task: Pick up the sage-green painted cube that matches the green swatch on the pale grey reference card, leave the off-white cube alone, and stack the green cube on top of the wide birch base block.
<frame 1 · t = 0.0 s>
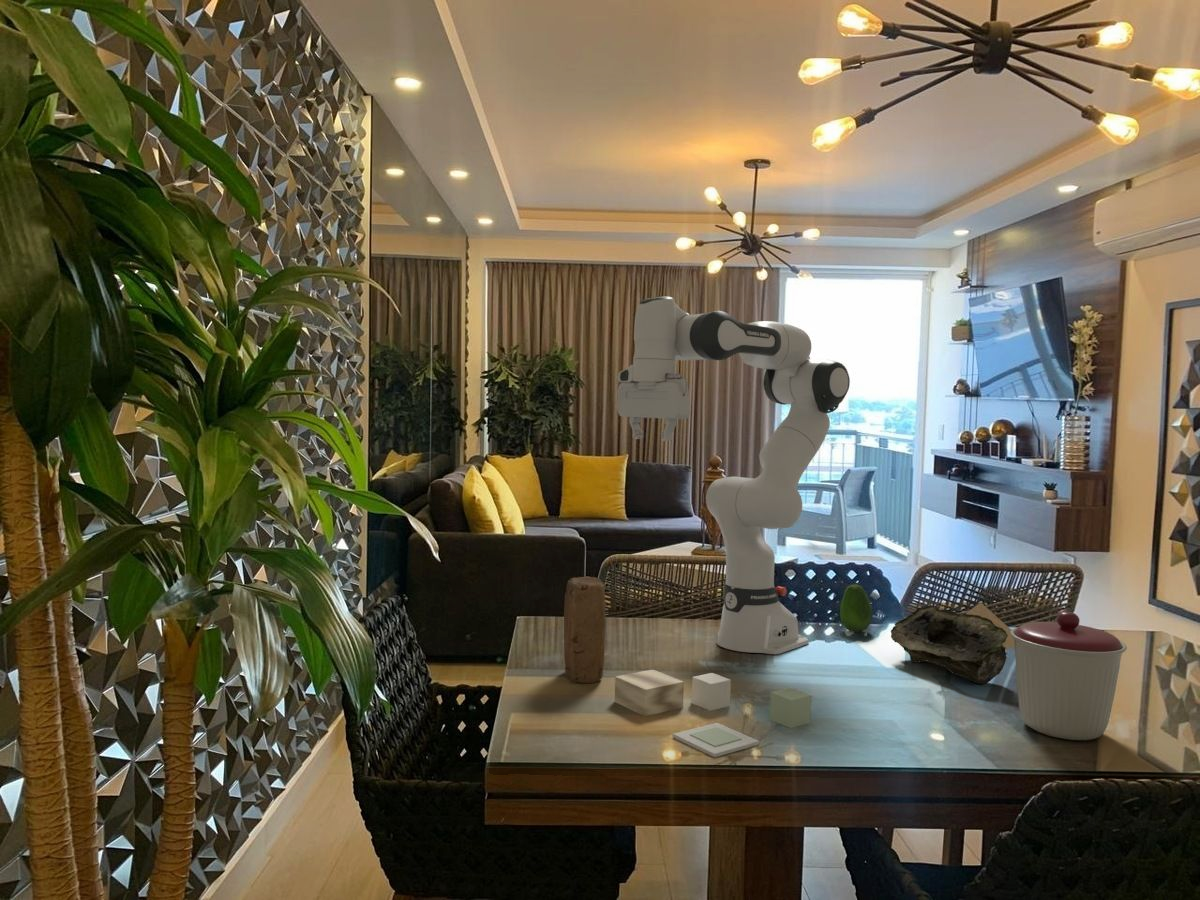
hand: (651, 439, 188), 48 cm above the table, tool pointing down, fingers open, 8 cm apart
reference card: (715, 741, 148), on the table
base block: (648, 705, 165), on the table
block: (582, 677, 180), on the table
model pyramid: (977, 643, 218), on the table
offwhite cube: (710, 704, 166), on the table
avocado: (855, 632, 224), on the table
canister: (1062, 731, 157), on the table
hollow geode rock: (948, 674, 190), on the table
sage cube: (789, 721, 158), on the table
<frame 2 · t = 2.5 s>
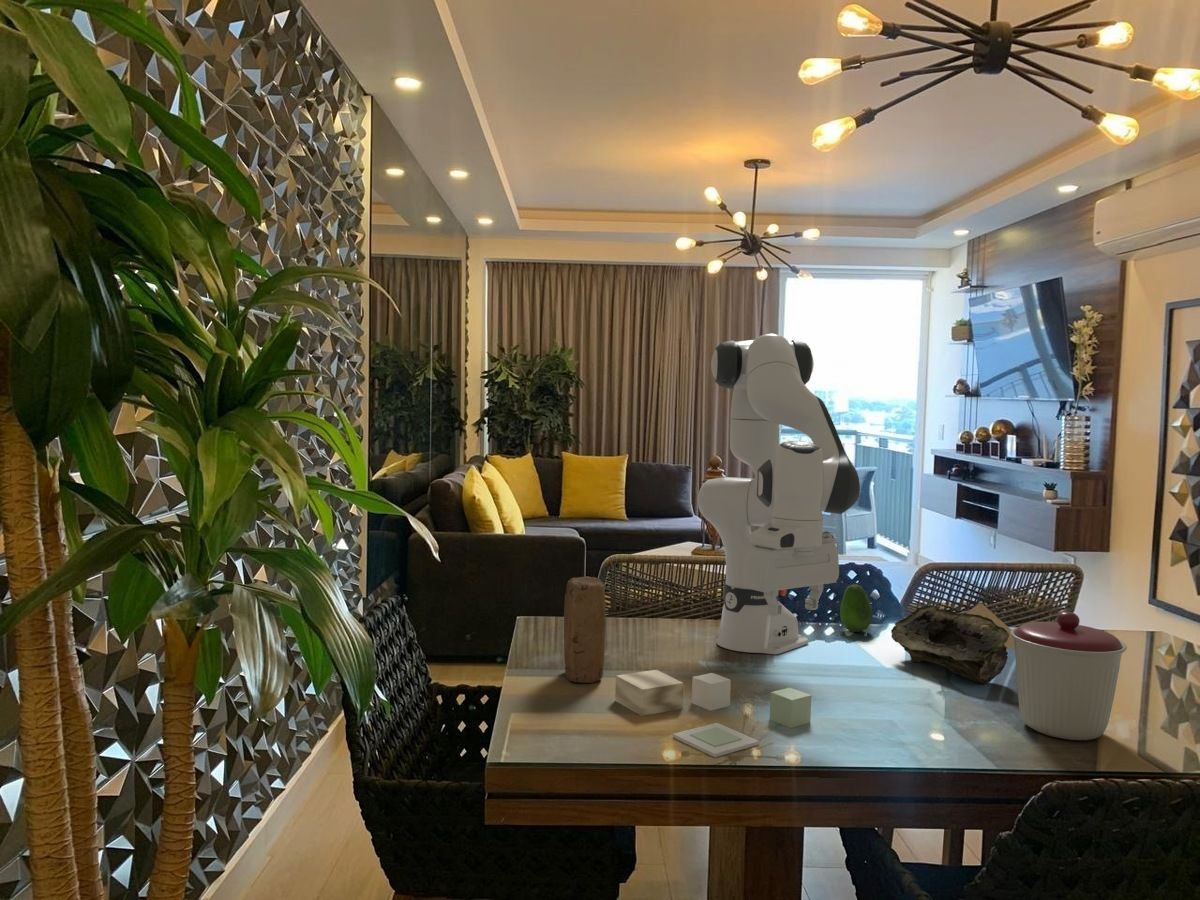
hand: (793, 612, 157), 19 cm above the table, tool pointing down, fingers open, 8 cm apart
nothing on the table moved.
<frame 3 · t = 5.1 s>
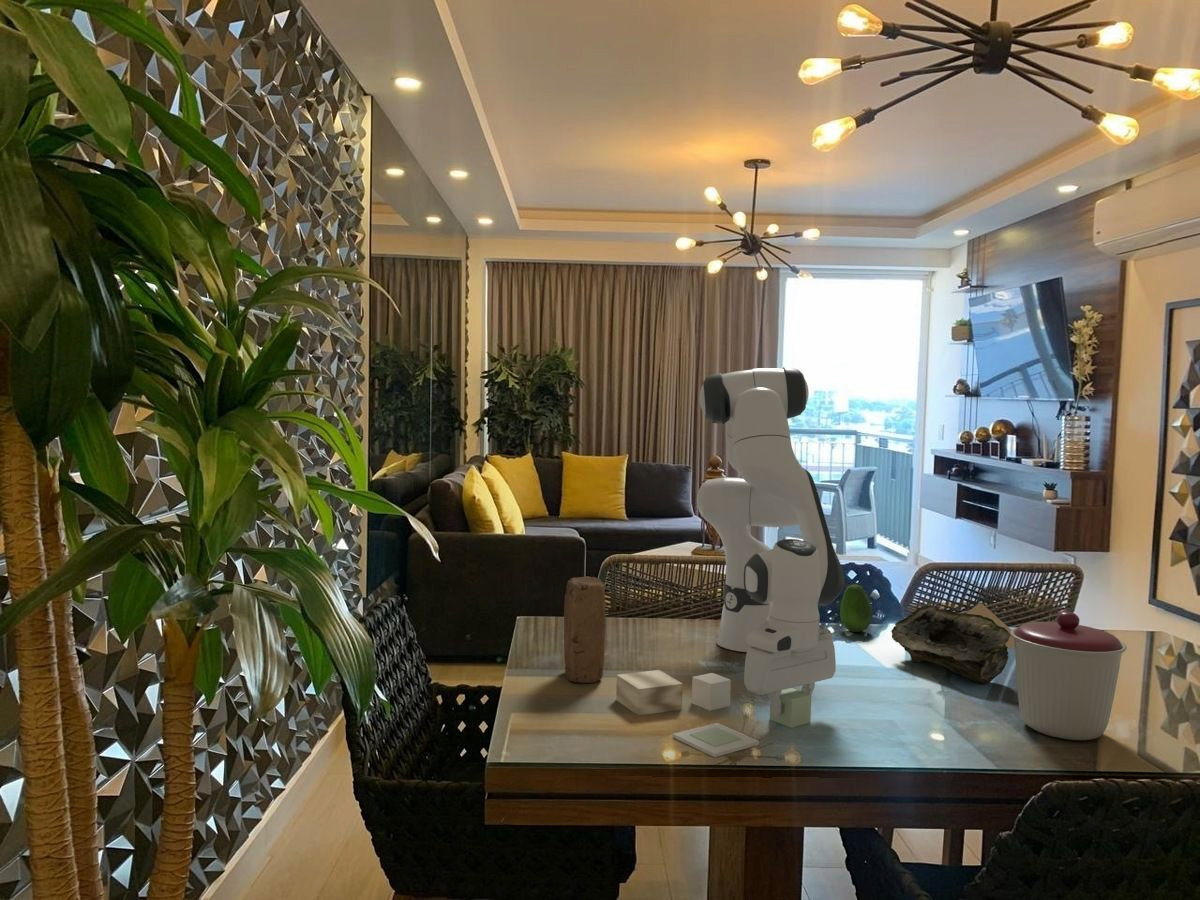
hand: (790, 710, 158), 2 cm above the table, tool pointing down, fingers closed on sage cube, 5 cm apart
sage cube: (789, 720, 158), on the table, touching gripper
everything else where it was.
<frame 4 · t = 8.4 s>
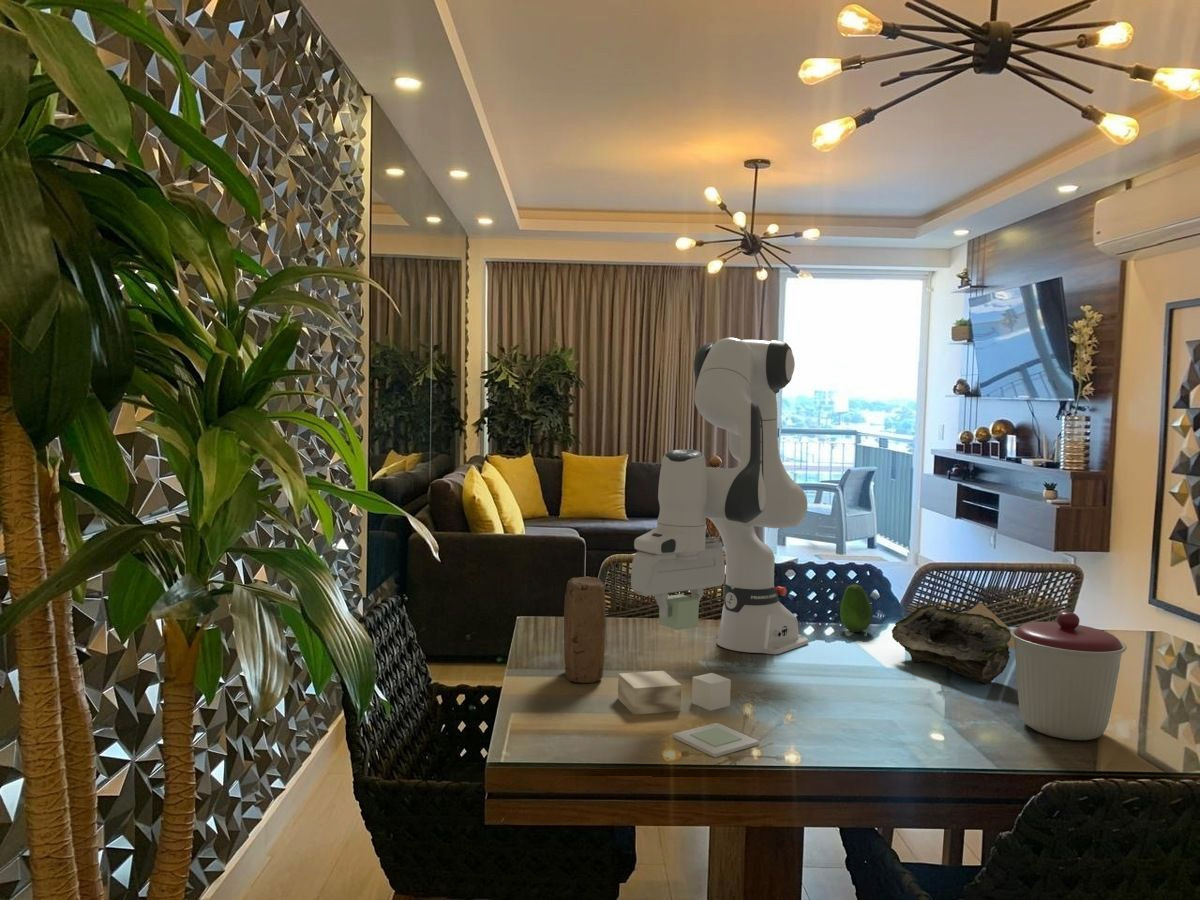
hand: (678, 614, 163), 17 cm above the table, tool pointing down, fingers closed on sage cube, 5 cm apart
sage cube: (678, 625, 163), point 15 cm above the table, touching gripper
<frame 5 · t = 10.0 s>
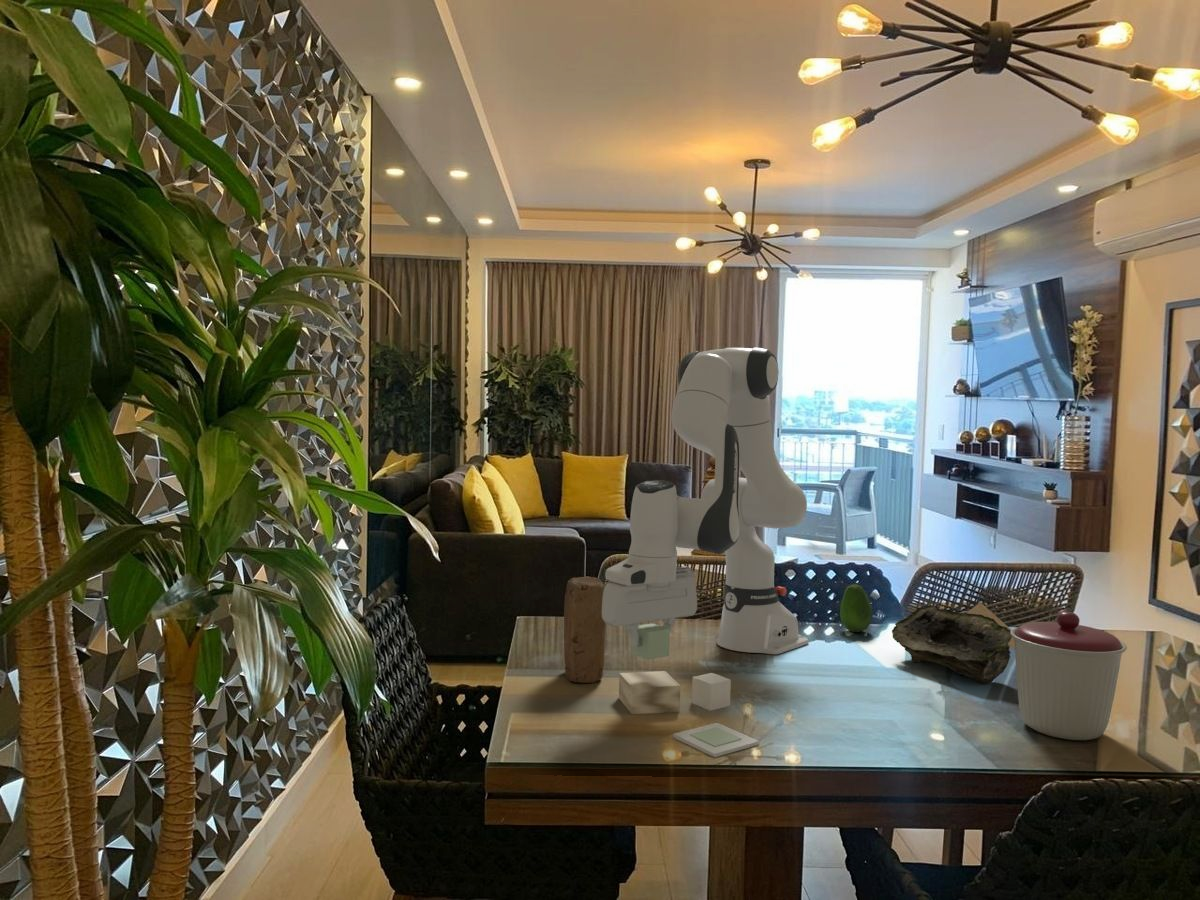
hand: (649, 644, 164), 11 cm above the table, tool pointing down, fingers closed on sage cube, 5 cm apart
sage cube: (649, 654, 164), point 9 cm above the table, touching gripper
when the fingers open (8 cm above the table, at t = 11.5 s): sage cube drops 1 cm, resting on base block.
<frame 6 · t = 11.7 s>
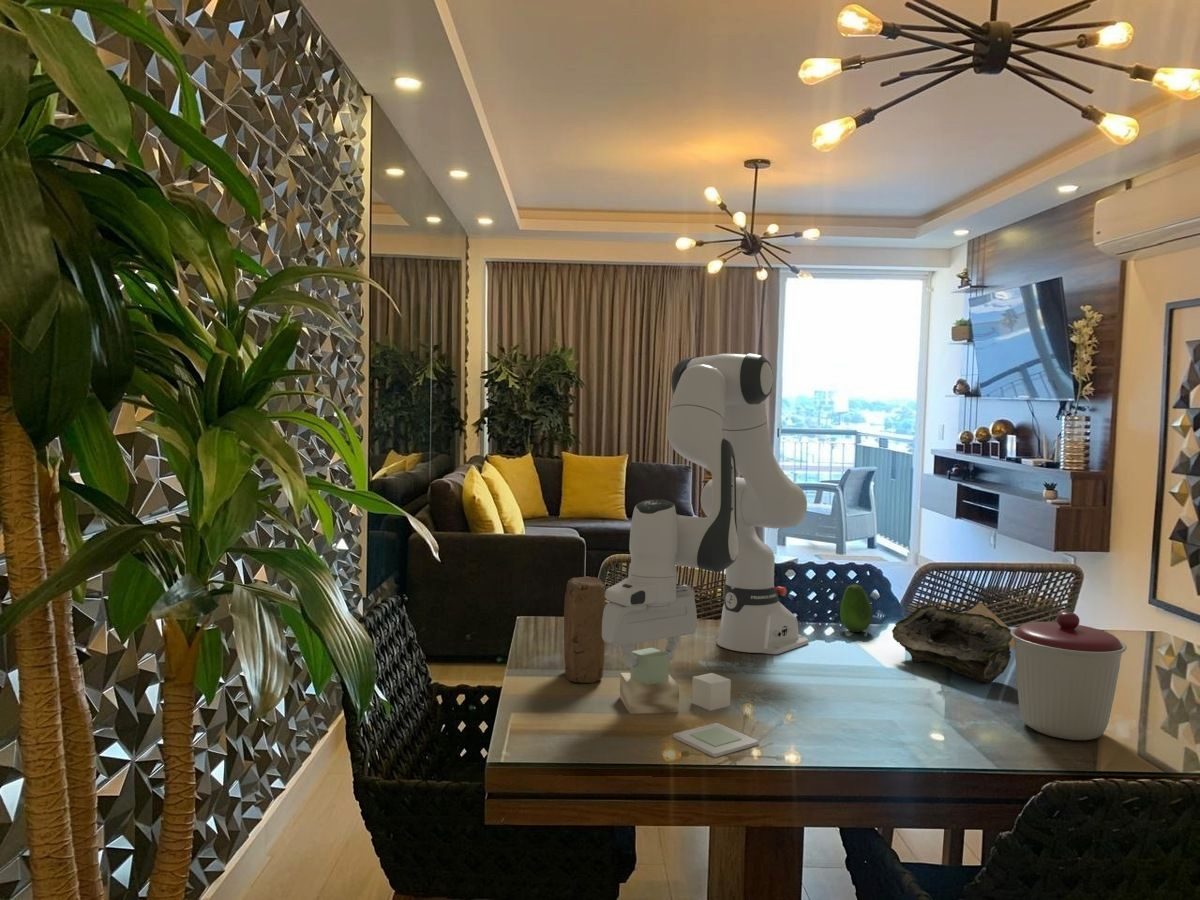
hand: (649, 663, 165), 8 cm above the table, tool pointing down, fingers open, 7 cm apart
base block: (648, 706, 165), on the table, touching sage cube
sage cube: (649, 679, 165), point 5 cm above the table, touching base block
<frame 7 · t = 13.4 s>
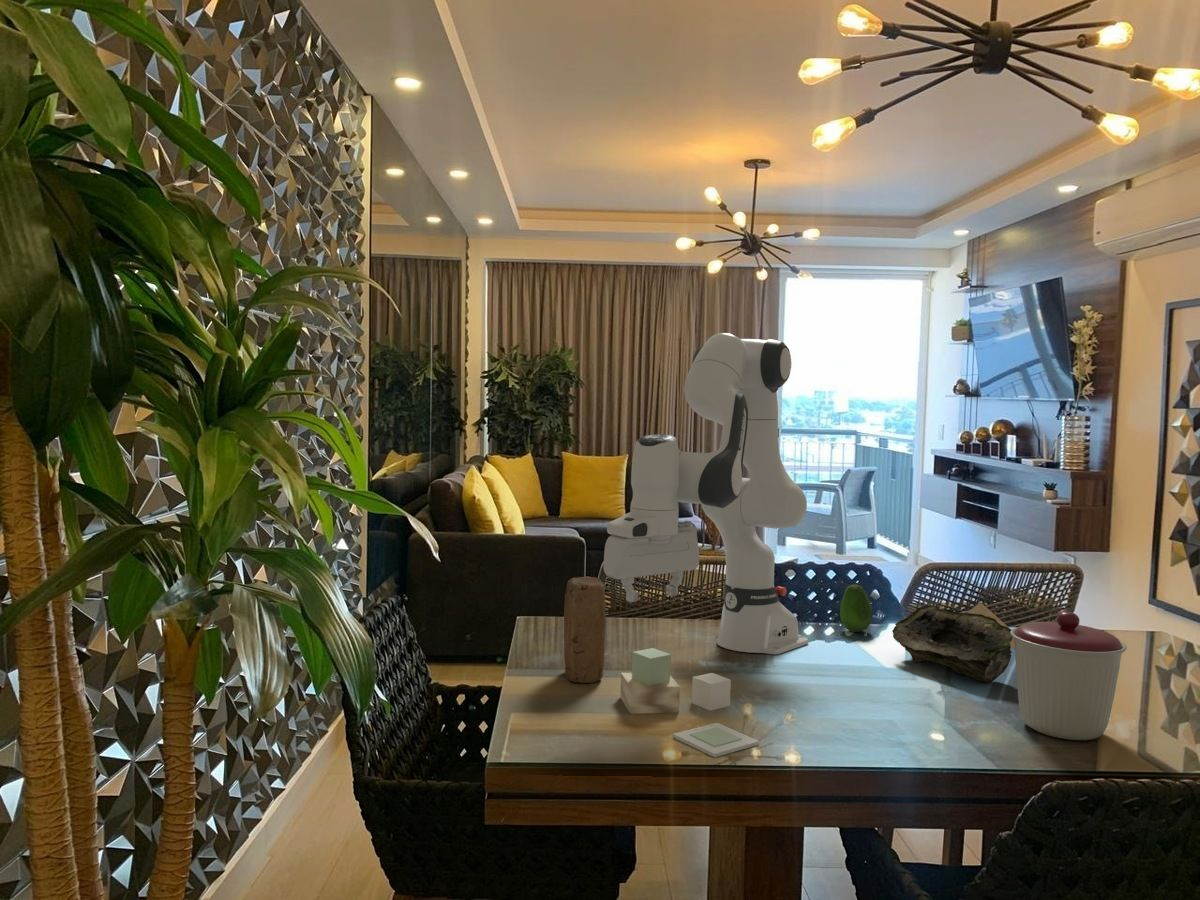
hand: (652, 598, 164), 20 cm above the table, tool pointing down, fingers open, 8 cm apart
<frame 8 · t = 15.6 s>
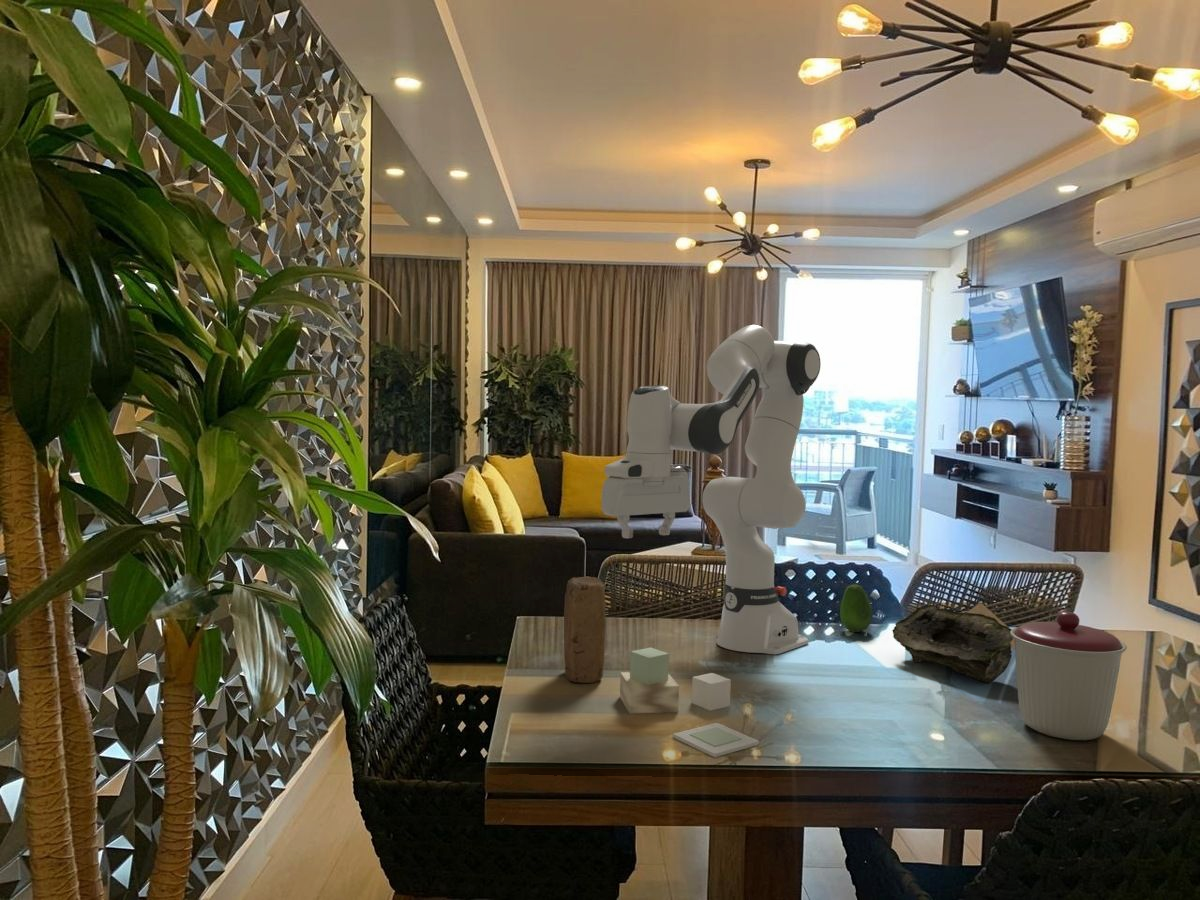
hand: (646, 536, 178), 29 cm above the table, tool pointing down, fingers open, 8 cm apart
at the end: sage cube 0.1 cm off-centre on the base block, point 5.0 cm above the base block's base; sage cube tilted 0°; the gripper is holding nothing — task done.
